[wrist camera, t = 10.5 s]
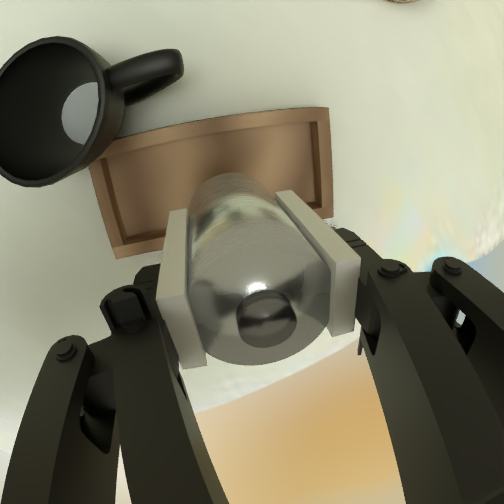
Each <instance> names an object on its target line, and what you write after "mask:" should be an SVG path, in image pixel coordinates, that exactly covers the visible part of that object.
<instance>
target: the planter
mask: <svg viewBox="0 0 504 504" xmlns="http://www.w3.org/2000/svg"><path fill="white" fill-rule="evenodd" d="M391 1H395V2H402V3H406V2H415V1H418V0H391Z"/></svg>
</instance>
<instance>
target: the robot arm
mask: <svg viewBox="0 0 504 504" xmlns="http://www.w3.org/2000/svg"><path fill="white" fill-rule="evenodd" d="M275 198H276V201H277V202H278V204H279V205H280V206H281V207H282V209H283V210H284V211H285V212H286V214H287V215H288V216H289V217H290V219H291V220H292V221H293V223H294V224H295V225H296V226H297V228H298V229H299V230H300V231H301V233H302V234H303V235H304V237H305V238H306V239H307V240H308V242H309V243H310V244H311V246H312V247H313V248H314V250H315V251H316V252H317V253H318V255H319V256H320V257H321V259H322V260H323V261H324V263H325V264H326V265H327V267H328V268H329V270H330V272H331V288H330V314H329V322H328V324H327V326H326V327H327V328H328V330H329V332H330V334H331V336H332V337H334V336H338V335H342V334H345V333H348V332H352V331H354V325H355V317H356V319H357V320H358V321H359V323H360V324H361V332H360V338H359V345H358V355H361V352H362V348H364V351H365V354H366V357H367V360H368V363H369V366H370V369H371V372H372V375H373V379H374V382H375V385H376V388H377V392H378V395H379V398H380V402H381V405H382V408H383V412H384V415H385V419H386V423H387V426H388V430H389V434H390V437H391V441H392V445H393V449H394V453H395V457H396V461H397V465H398V469H399V473H400V478H401V482H402V487H403V492H404V496H405V501H406V504H504V293H503V292H502V291H501V290H499V289H498V288H497V287H495V286H494V285H493V284H492V283H491V282H490V281H488V280H487V279H485V278H484V277H483V276H482V275H481V274H479V273H478V272H477V271H475V270H474V269H473V268H471V267H470V266H469V265H467V264H466V263H464V262H463V261H461V260H459V259H456V258H454V257H440V258H438V259H436V260H434V263H433V265H432V270H431V272H412V271H411V269H410V268H409V267H408V266H407V265H406V264H404V263H402V262H400V261H397V260H392V259H382V258H381V257H380V256H379V255H378V254H377V253H376V252H375V251H374V250H373V249H372V248H370V247H369V246H368V245H366V243H365V242H364V241H363V240H361V238H360V237H358V236H357V235H356V234H355V233H354V232H352V231H349V230H347V229H345V228H340V229H334V230H333V229H332V228H331V227H330V226H329V225H328V224H327V223H326V222H325V221H324V220H323V219H321V218H320V217H319V216H318V215H317V214H316V213H315V212H314V211H313V210H312V209H311V208H310V207H309V206H308V205H307V204H306V203H305V202H304V201H303V200H301V199H300V198H299V197H298V196H297V195H296V194H295V193H294V192H293V191H292V190H287V191H280V192H275ZM188 227H189V217H188V212H187V208H184V209H179V210H174V211H170V214H169V219H168V225H167V230H166V236H165V241H164V247H163V253H162V259H161V264H156V265H151V266H146V267H142V269H141V270H140V271H139V272H138V273H137V274H136V276H135V279H134V283H133V285H127V286H122V287H120V288H117V289H115V290H113V291H112V292H110V293H109V294H107V295H106V296H105V297H104V299H103V300H102V301H101V304H100V309H101V311H102V313H103V315H104V318H105V320H106V322H107V324H108V326H109V328H110V330H111V336H109V337H107V338H105V339H103V340H100V341H98V342H95V343H93V344H90V345H88V344H87V343H86V341H85V339H84V338H82V337H81V336H77V335H71V336H67V337H64V338H62V339H60V340H58V341H57V342H56V343H55V344H54V345H53V346H52V347H51V348H50V350H49V352H48V353H47V356H46V358H45V360H44V363H43V365H42V367H41V370H40V372H39V375H38V377H37V380H36V382H35V385H34V387H33V390H32V393H31V395H30V398H29V401H28V404H27V407H26V409H25V412H24V415H23V418H22V421H21V424H20V427H19V431H18V434H17V437H16V441H15V444H14V448H13V451H12V455H11V459H10V463H9V467H8V471H7V475H6V479H5V484H4V489H3V494H2V499H1V504H115V494H116V480H117V467H118V457H119V448H120V446H121V452H122V458H123V464H124V469H125V474H126V479H127V485H128V489H129V494H130V498H131V503H132V504H229V502H228V500H227V498H226V495H225V493H224V491H223V488H222V486H221V484H220V481H219V479H218V477H217V474H216V472H215V469H214V467H213V464H212V462H211V459H210V457H209V454H208V452H207V449H206V446H205V443H204V441H203V438H202V435H201V432H200V430H199V427H198V424H197V422H196V418H195V415H194V412H193V409H192V406H191V403H190V400H189V397H188V394H187V391H186V388H185V385H184V382H183V379H182V377H181V374H180V372H179V361H180V364H181V366H182V368H183V369H188V368H195V367H201V366H207V361H206V352H205V351H204V349H203V346H202V343H201V340H200V337H199V333H198V330H197V327H196V324H195V321H194V317H193V314H192V311H191V307H190V304H189V300H188V295H187V284H188ZM460 310H461V311H462V312H463V313H464V314H465V315H466V316H465V319H464V322H463V324H462V325H460V324H459V323H457V322H456V319H457V317H458V314H459V311H460Z"/></svg>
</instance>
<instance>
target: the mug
mask: <svg viewBox="0 0 504 504" xmlns="http://www.w3.org/2000/svg"><path fill="white" fill-rule="evenodd" d="M183 74H184V65H183V59H182V55H181V53H180V52H179V50H177V49H163V50H157V51H153V52H149V53H145V54H142V55H139V56H136V57H133V58H130V59H128V60H125V61H122V62H120V63H118V64H115V65H113V66H110V64H109V63H108V62H107V61H106V60H105V59H104V58H102V57H101V56H100V55H99V54H98V53H96V52H95V51H94V50H92V49H91V48H89V47H88V46H87V45H85V44H84V43H82V42H79V41H77V40H75V39H73V38H69V37H61V36H54V37H48V38H42V39H39V40H37V41H34V42H32V43H30V44H27V45H26V46H25V47H23V48H22V49H20V50H19V51H17V52H16V53H15V54H14V55H13V56H12V57H11V58H10V59H9V60H8V61H7V62H6V63H5V64H4V65H3V66H2V68H1V69H0V174H1V176H3V177H4V178H6V179H7V180H9V181H10V182H12V183H14V184H17V185H20V186H24V187H43V186H47V185H51V184H54V183H56V182H58V181H60V180H62V179H64V178H66V177H68V176H70V175H72V174H74V173H76V172H78V171H80V170H82V169H84V168H86V167H87V166H88V165H89V164H91V163H92V162H93V161H94V160H96V159H97V158H98V157H99V156H101V155H102V153H103V152H104V151H105V150H106V149H107V148H108V146H109V145H110V144H111V143H112V142H113V140H114V138H115V136H116V135H117V133H118V131H119V129H120V126H121V123H122V120H123V116H124V109H125V106H128V105H131V104H134V103H137V102H139V101H141V100H144V99H146V98H148V97H149V96H151V95H153V94H155V93H157V92H159V91H160V90H162V89H164V88H166V87H167V86H169V85H171V84H172V83H174V82H176V81H177V80H178V79H180V78H181V77H182V76H183ZM89 82H97V84H98V97H99V102H98V109H97V116H96V119H95V122H94V126H93V129H92V132H91V134H90V136H89V138H88V139H87V141H86V143H85V145H82V144H79V143H76V142H74V141H73V140H71V139H70V138H69V137H68V136H67V134H66V133H65V131H64V129H63V126H62V120H61V114H62V108H63V105H64V103H65V101H66V99H67V97H68V96H69V95H70V93H71V92H72V91H73V90H75V89H76V88H77V87H79V86H81V85H82V84H85V83H89ZM130 85H131V86H130Z"/></svg>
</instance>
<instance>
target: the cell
mask: <svg viewBox="0 0 504 504" xmlns="http://www.w3.org/2000/svg"><path fill="white" fill-rule="evenodd" d="M188 217H189V227H188V284H187V295H188V300H189V304H190V307H191V311H192V314H193V317H194V321H195V324H196V327H197V330H198V333H199V337H200V340H201V343H202V346H203V349H204V351H205V352H206V353H208V354H209V355H211V356H212V357H215V358H217V359H219V360H221V361H224V362H227V363H232V364H237V365H263V364H268V363H273V362H276V361H280V360H282V359H285V358H288V357H290V356H292V355H294V354H296V353H297V352H299V351H301V350H303V349H304V348H305V347H307V346H308V345H309V344H310V343H312V342H313V341H314V340H315V339H316V338H317V337H318V336H319V335H320V334H321V332H322V331H323V330H324V328H325V327H326V326H327V324H328V322H329V314H330V288H331V272H330V270H329V268H328V267H327V265H326V264H325V263H324V261H323V260H322V259H321V257H320V256H319V255H318V253H317V252H316V251H315V250H314V248H313V247H312V246H311V244H310V243H309V242H308V240H307V239H306V238H305V237H304V235H303V234H302V233H301V231H300V230H299V229H298V228H297V226H296V225H295V224H294V223H293V221H292V220H291V219H290V217H289V216H288V215H287V214H286V212H285V211H284V210H283V209H282V207H281V206H280V205H279V204H278V202H277V201H276V200H275V199H274V198H273V196H272V195H271V194H270V193H269V191H268V190H267V189H266V188H265V187H264V185H263V184H262V183H260V182H259V181H258V180H256V179H255V178H253V177H251V176H249V175H246V174H242V173H223V174H219V175H217V176H214V177H212V178H210V179H208V180H207V181H206V182H204V183H203V184H202V185H201V186H200V187H199V188H198V189H197V190H196V192H195V193H194V195H193V197H192V199H191V201H190V205H189V210H188Z"/></svg>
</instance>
